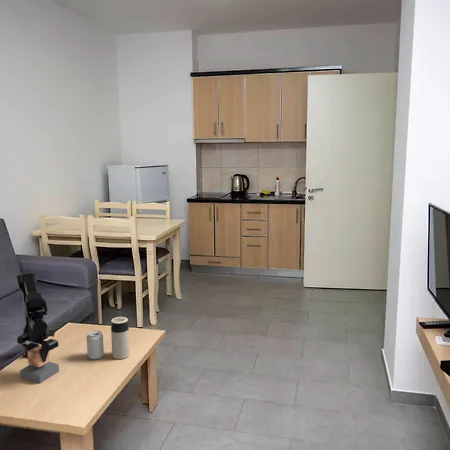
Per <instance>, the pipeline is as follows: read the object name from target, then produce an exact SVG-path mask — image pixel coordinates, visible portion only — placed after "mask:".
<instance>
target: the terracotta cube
mask: <svg viewBox="0 0 450 450" xmlns="http://www.w3.org/2000/svg"><path fill="white" fill-rule="evenodd" d="M39 349H41V345H39V346H37V347H35V348H33V349H31V350H29V351H28V358H27V363H28V366H29V365H32V366H36V367H40V366H42V365H44V364H46V363H48V362H51V361H50V351H49V352H48V355H47V358H46V361H45V362H43V361H42V358H41V355H40V352H39Z"/></svg>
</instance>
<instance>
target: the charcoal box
mask: <svg viewBox="0 0 450 450" xmlns="http://www.w3.org/2000/svg"><path fill="white" fill-rule="evenodd" d="M59 365H60V364H59V363H56V362H51V361H49V362H48V363H46V364H44V365H42V366H40V367H36V366H32V365H29V364H28V365H27V366H25V367H23V368H21V369H20V370H19V374H20V377H19V378H20V379H23V380H25V381H30V382H33V383H36V384H42V383H43V382H45V381H47V380H48V379H49V378H51V377H53V376H55V375H56V374H57V373H60V366H59Z"/></svg>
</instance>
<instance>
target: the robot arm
mask: <svg viewBox="0 0 450 450" xmlns="http://www.w3.org/2000/svg"><path fill="white" fill-rule="evenodd" d="M36 282H37V273H34V272H31V271H30V272H24V273H18V275H16V276H15V284H16V285H17V288H18V289H19V290H20V292H21V293H22V303H23V312H24V313H23V315H24V325H23V327H22V329H21V331H22V333H21V334H20V335H18V337H17V339H16V341H17V342H16V343H17V344H20V345H21V346H22V347H23V348H24V353H23V354H22V355H21V357H22V358H23V357H24V358H27V359H28V351H29V350H31V349H33V348H35V347H37V346H41V349H39V352H40V355H41V358H42V361H43V362H45V361H46V358H47V355H48V352H49V353H50V352H51V351H52V350H54V349H56V348H59V340H57V339H53V337H55V334H56V329H55V328H51V327H48V324H47V322H46V320H45V318H44V316H46V315H48V314H47V313H48V311H49V310H48V306H47V302H46V300H45V298H43V295H42V294H41V293H40V292H38V290H37V286H36ZM50 337H52V338H50Z"/></svg>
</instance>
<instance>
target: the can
mask: <svg viewBox="0 0 450 450" xmlns="http://www.w3.org/2000/svg"><path fill="white" fill-rule="evenodd" d="M104 346H105V345H104V335H103V332H102V331H101V330H91V331H89V332H88V333H87V335H86V353H87V358H89V360H100V359H102V357H104V355H105V350H104Z"/></svg>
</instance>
